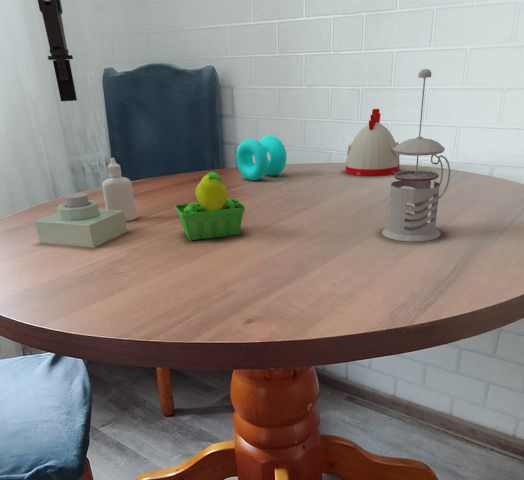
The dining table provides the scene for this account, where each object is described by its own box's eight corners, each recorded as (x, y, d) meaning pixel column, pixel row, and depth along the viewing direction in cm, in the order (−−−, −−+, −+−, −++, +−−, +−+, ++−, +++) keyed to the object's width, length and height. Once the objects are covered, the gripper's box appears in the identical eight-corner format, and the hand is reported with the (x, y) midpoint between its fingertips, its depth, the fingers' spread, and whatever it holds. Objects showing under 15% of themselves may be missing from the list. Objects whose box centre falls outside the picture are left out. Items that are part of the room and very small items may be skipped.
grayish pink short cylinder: (61, 209, 96) (59, 197, 95) (76, 203, 99) (74, 192, 98) (79, 210, 94) (77, 198, 93) (94, 204, 98) (91, 193, 97)
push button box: (39, 242, 98) (31, 209, 95) (76, 227, 106) (69, 196, 103) (93, 248, 93) (86, 213, 90) (127, 231, 101) (121, 199, 98)
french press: (370, 231, 94) (378, 70, 83) (420, 220, 99) (435, 66, 87) (408, 245, 87) (423, 70, 75) (461, 232, 91) (483, 66, 79)
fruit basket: (236, 224, 102) (232, 162, 97) (250, 237, 94) (246, 170, 89) (177, 232, 99) (169, 168, 94) (185, 246, 92) (177, 177, 86)
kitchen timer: (404, 167, 145) (408, 106, 138) (392, 177, 134) (396, 111, 127) (353, 165, 150) (355, 106, 143) (338, 175, 139) (340, 111, 132)
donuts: (289, 176, 141) (288, 135, 136) (262, 183, 135) (260, 140, 130) (262, 172, 147) (260, 133, 142) (235, 179, 141) (232, 138, 136)
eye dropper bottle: (113, 217, 111) (103, 156, 106) (139, 217, 111) (130, 155, 105) (105, 223, 108) (93, 160, 102) (132, 223, 107) (122, 159, 101)
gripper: (58, -70, 82) (89, 101, 93) (64, -54, 93) (91, 97, 104) (6, -70, 80) (43, 104, 91) (18, -53, 91) (50, 100, 103)
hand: (69, 100), depth 98 cm, fingers closed
